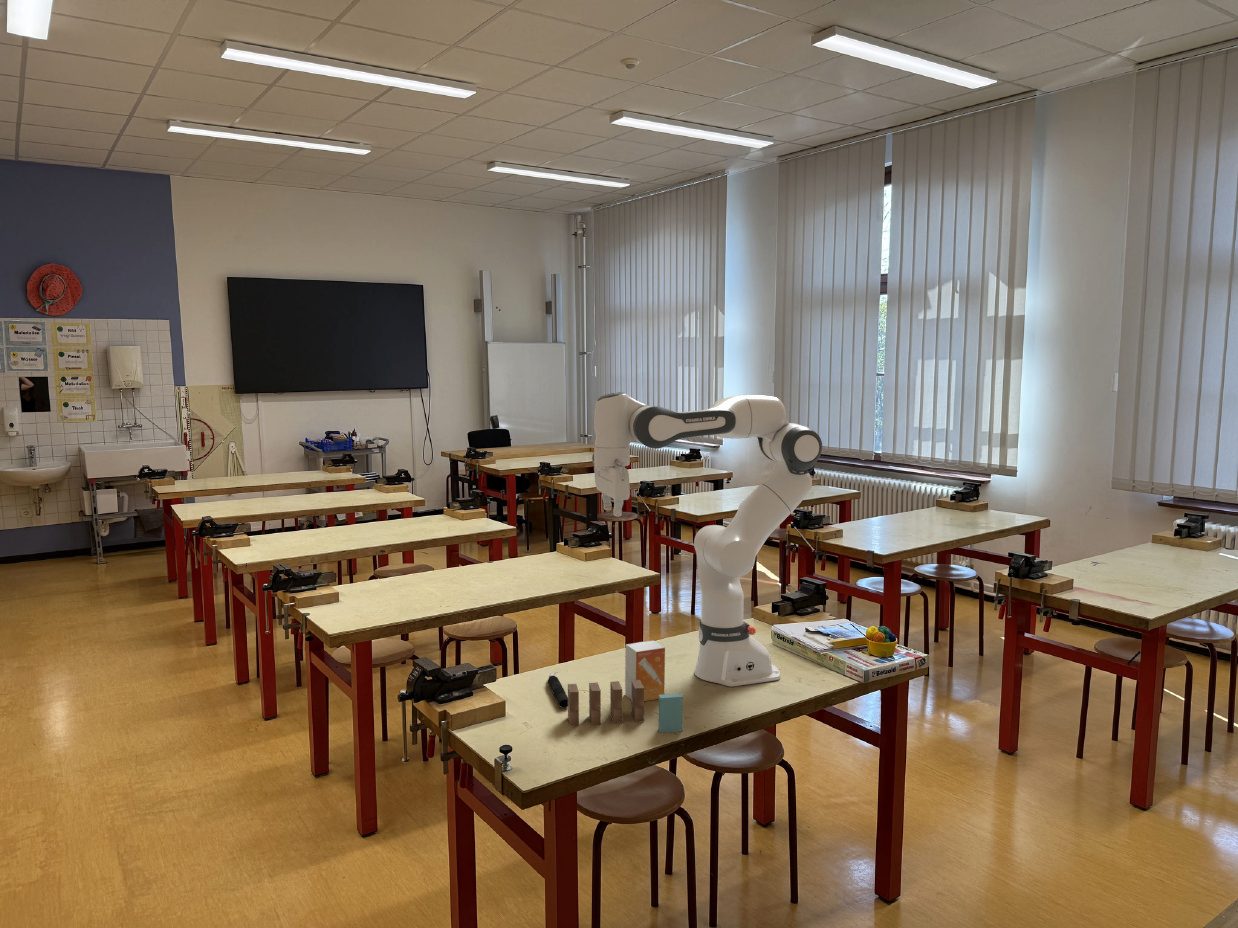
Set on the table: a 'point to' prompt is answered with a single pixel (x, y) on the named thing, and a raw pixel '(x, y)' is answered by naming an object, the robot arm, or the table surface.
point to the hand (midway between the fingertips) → (612, 512)
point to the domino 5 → (670, 713)
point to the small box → (645, 668)
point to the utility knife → (558, 690)
